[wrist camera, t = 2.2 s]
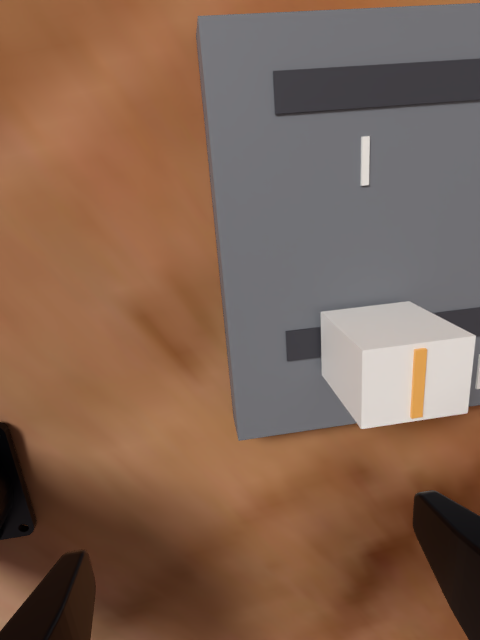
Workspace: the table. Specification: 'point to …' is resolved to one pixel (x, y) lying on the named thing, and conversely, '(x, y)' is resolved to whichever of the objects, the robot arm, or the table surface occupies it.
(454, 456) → the table surface
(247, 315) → the console
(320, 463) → the table surface
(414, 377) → the block
